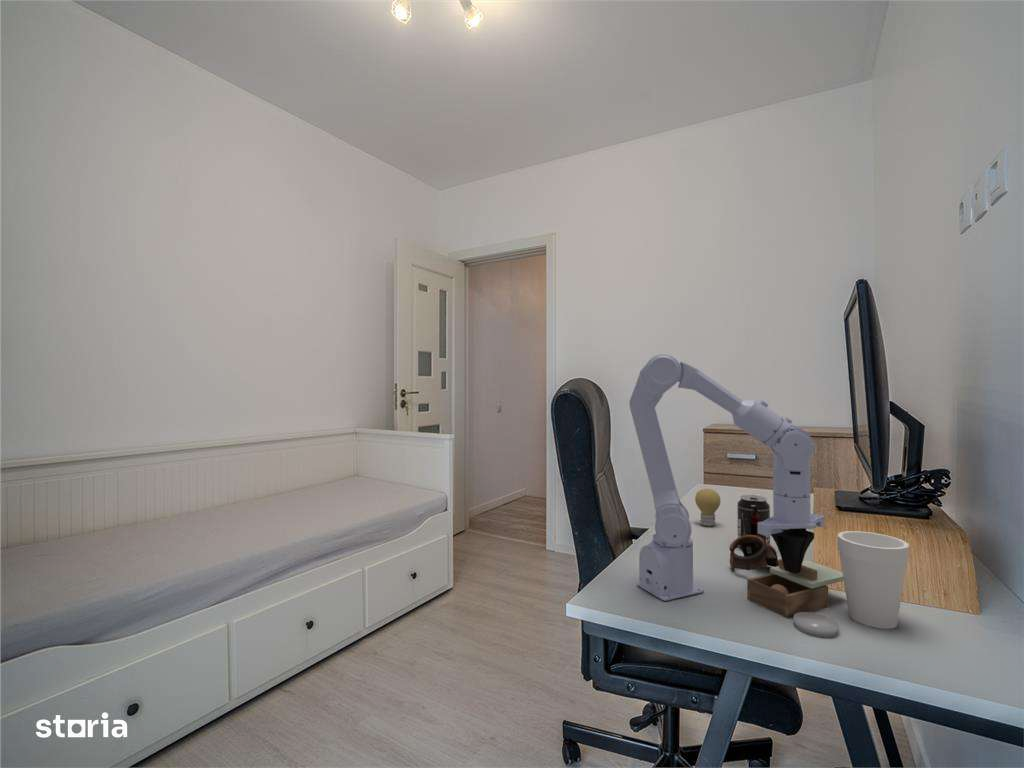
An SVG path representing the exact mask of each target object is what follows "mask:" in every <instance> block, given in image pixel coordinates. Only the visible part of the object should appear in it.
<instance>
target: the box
mask: <svg viewBox="0 0 1024 768" xmlns="http://www.w3.org/2000/svg"><path fill="white" fill-rule="evenodd" d="M746 583H747V585H746V586H747V589H746V591H747V598H746V599H747V600H748V601H750V602H752V603H754V604H756V605H759V606H761V607H763V608H765V609H766V610H767V609H768V610H769V611H771V612H774V613H776V614H778V615H780V616H782V617H784V618H786V619H791V618H794V614H796V613H798V612H813V613H814V612H815V611H820V610H823V609H826V608H827V609H828V608H829V586H828V585H825V586H821V587H817V588H813V589H811V588H808V587H806V586H803V585H801V584H798V583H796V582H793V581H791V580H788V579H786V578H783V577H781V576H778V575H775V574H773V573H769V574H764V575H759V576H755V577H750V578H747V580H746ZM776 584H779V585H782V586H784V587H785V588H786V589H787V591H788V593H789V594H785V593H783V592H780V591H778V590H776V589H773V588H771V587H772V586H773V585H776Z"/></svg>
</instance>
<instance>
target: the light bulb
mask: <svg viewBox="0 0 1024 768" xmlns="http://www.w3.org/2000/svg"><path fill="white" fill-rule="evenodd" d="M694 498H695V504H696V506H697V508H698V509H699V510H700V524H701V525H702V526H704V527H713V526H715V525H716V514H715V513H716V511H717V510H718V509H719V508H720V505H721V496H720V494H719V493H718V492H717V491H716V490H714V489H711V488H702V489H700V490H698V491H697V492H696V494H695V497H694Z"/></svg>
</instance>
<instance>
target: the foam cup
mask: <svg viewBox="0 0 1024 768" xmlns="http://www.w3.org/2000/svg"><path fill="white" fill-rule="evenodd" d="M837 551H838V552H839V559H840V565H841V572H842V573H843V579H844V581H843V584H844V591H845V597H846V603H847V610H848V615H849V617H851V619H852V620H854V621H855V622H858V623H860V624H862V625H865V626H869V627H872V628H878V629H894V628H896V627H897V624H898V621H899V620H898V619H899V614H900V607H901V599H902V594H903V588H904V582H905V575H906V570H907V563H909V543H908V542H906V541H904V540H903V539H900V538H897V537H894V536H891V535H887V534H882V533H877V532H876V533H875V532H870V531H869V532H868V531H860V530H859V531H857V530H855V531H854V530H853V531H851V530H846V531H841V532H838V534H837Z"/></svg>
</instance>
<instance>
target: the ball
mask: <svg viewBox="0 0 1024 768" xmlns="http://www.w3.org/2000/svg"><path fill="white" fill-rule="evenodd" d="M771 588H773V589H776V590H778V591H780V592H783V593H785V594H789V593H788V591H787V589H786V588H785V587H784V586H782V585H779V584H776V585H773V586H772V587H771Z"/></svg>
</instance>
